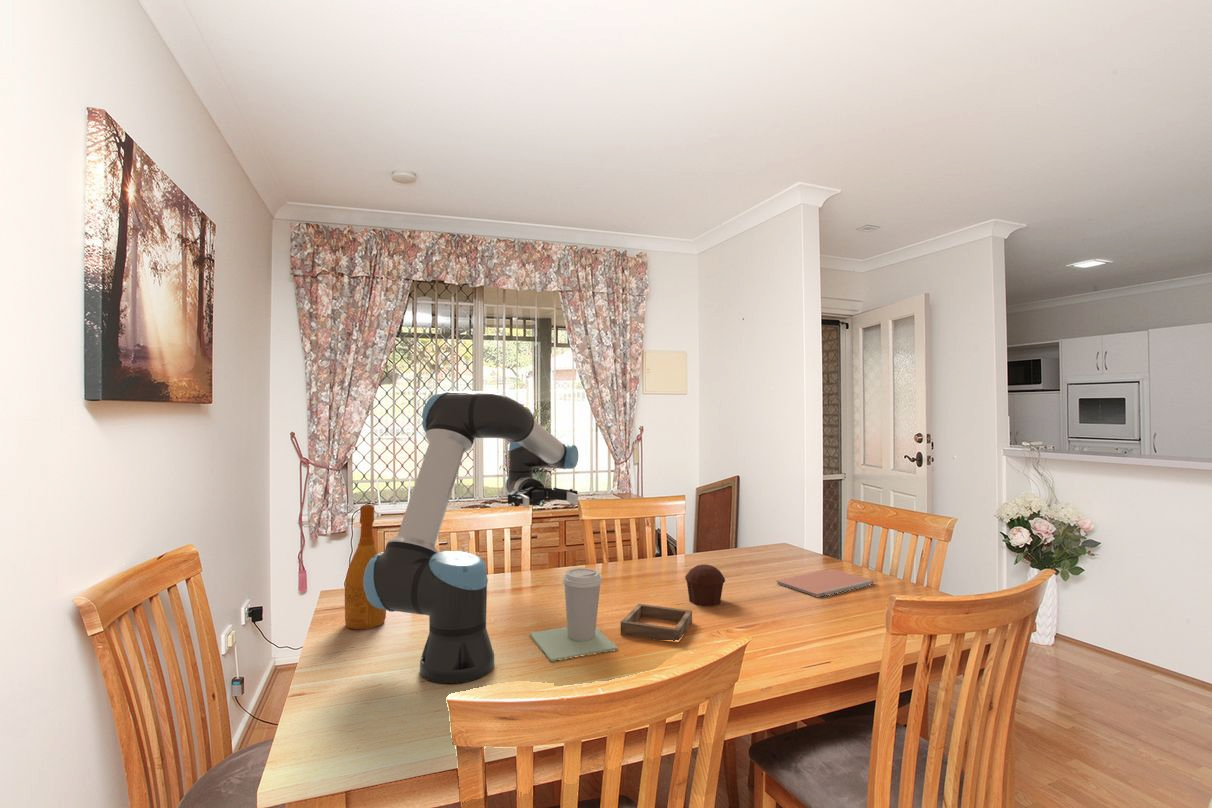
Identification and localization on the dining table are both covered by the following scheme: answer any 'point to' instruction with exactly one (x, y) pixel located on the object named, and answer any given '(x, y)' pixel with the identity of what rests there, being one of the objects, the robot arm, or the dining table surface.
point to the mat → (570, 644)
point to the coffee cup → (582, 602)
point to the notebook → (825, 582)
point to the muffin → (705, 585)
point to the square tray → (654, 631)
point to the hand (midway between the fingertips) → (552, 501)
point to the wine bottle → (362, 578)
